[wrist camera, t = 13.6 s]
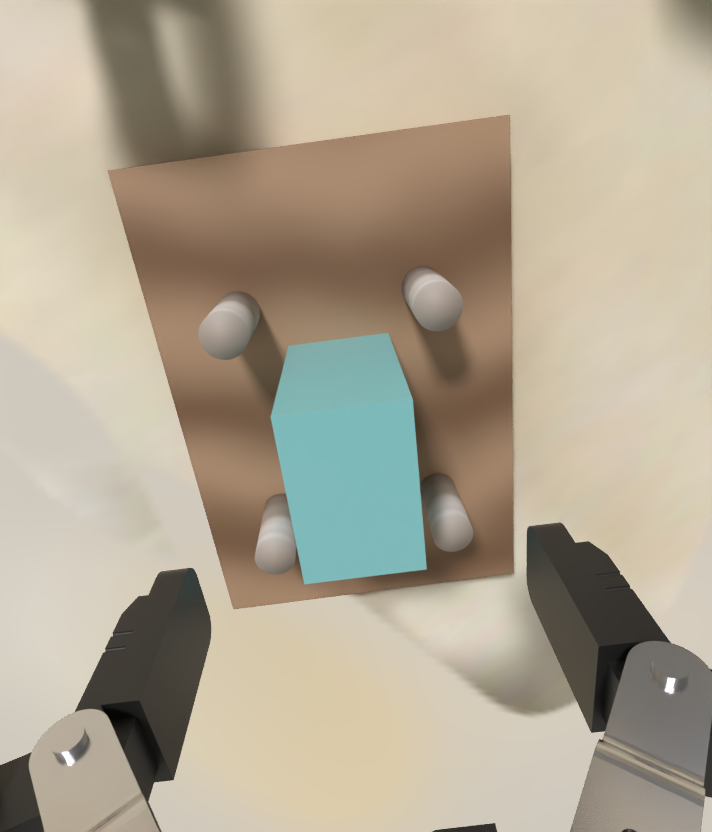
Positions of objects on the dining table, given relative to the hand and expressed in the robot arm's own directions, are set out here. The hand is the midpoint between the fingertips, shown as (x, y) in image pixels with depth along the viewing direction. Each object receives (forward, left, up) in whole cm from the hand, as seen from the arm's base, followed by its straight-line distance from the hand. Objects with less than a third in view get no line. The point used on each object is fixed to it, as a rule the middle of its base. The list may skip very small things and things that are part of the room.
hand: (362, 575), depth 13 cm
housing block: (0, 0, -11) cm, 11 cm away
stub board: (0, 0, -12) cm, 12 cm away
